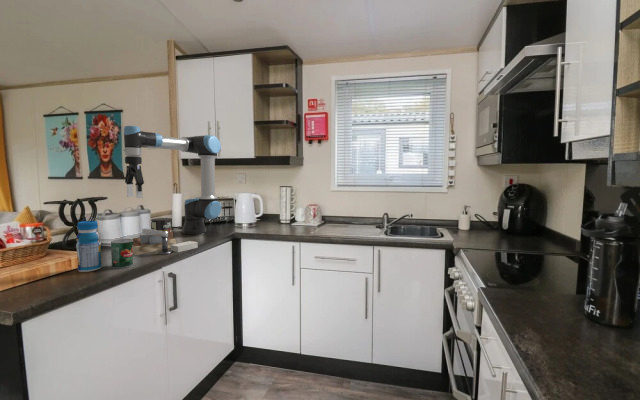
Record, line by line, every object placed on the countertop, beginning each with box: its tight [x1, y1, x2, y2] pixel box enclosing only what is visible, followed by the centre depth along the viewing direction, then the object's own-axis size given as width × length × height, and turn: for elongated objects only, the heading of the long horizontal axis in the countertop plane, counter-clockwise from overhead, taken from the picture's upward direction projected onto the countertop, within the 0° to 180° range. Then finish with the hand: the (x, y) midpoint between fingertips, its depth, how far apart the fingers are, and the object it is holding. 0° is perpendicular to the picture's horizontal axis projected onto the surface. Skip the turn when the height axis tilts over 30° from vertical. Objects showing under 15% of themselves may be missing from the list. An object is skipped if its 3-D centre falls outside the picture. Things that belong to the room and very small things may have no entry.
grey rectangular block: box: [139, 234, 162, 245], centre depth 169 cm, size 10×8×4 cm
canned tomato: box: [110, 238, 134, 269], centre depth 140 cm, size 8×8×11 cm
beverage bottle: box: [75, 220, 102, 273], centre depth 134 cm, size 8×8×20 cm
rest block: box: [170, 240, 199, 253], centre depth 171 cm, size 12×6×3 cm, turn 150°
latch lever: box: [141, 228, 168, 237], centre depth 165 cm, size 19×3×2 cm, turn 60°
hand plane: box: [132, 231, 177, 256], centre depth 169 cm, size 22×6×8 cm, turn 150°
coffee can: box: [150, 217, 172, 232], centre depth 185 cm, size 10×10×14 cm
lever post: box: [158, 237, 173, 256], centre depth 162 cm, size 6×6×8 cm
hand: (134, 197), depth 169 cm, fingers open, 13 cm apart
